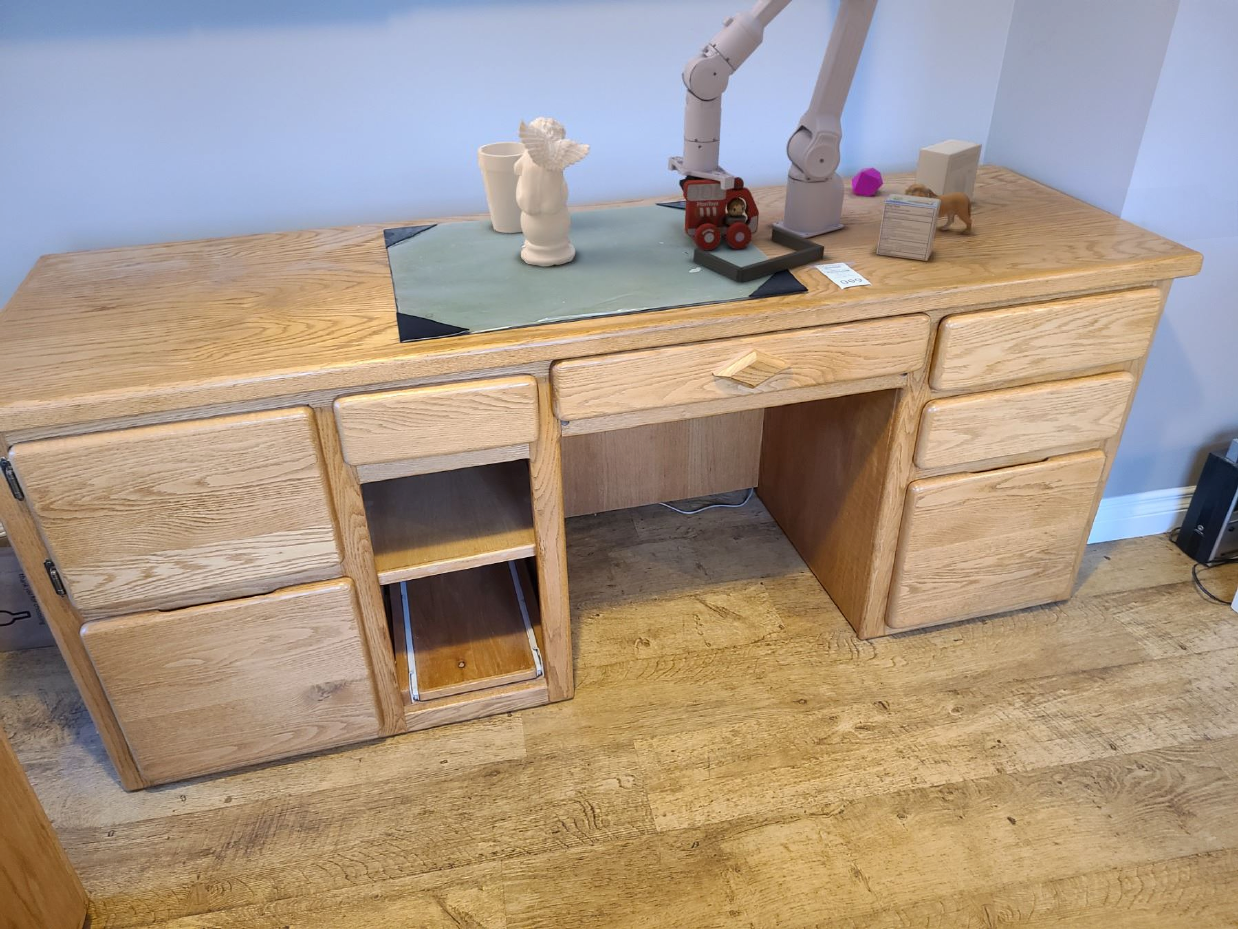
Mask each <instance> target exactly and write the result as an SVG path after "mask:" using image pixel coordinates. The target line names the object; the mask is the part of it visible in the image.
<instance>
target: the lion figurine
mask: <svg viewBox="0 0 1238 929" xmlns="http://www.w3.org/2000/svg"><path fill="white" fill-rule="evenodd" d="M903 195H909V196H918V197H926V198H934V199H940V200H941V203H940V208H939V214H938V219H939V218H942V217H945V216H947V221H946V223H945V224H943V225H940V226H939V227H938V229H939V230H940V231H946V230H948V229H949V228H950V227H951V226H952V225H953V224H954V223H955V216H957V217H958V219H959V220H960V221H962V222H963V223H964V224H965V225H966V228H965V229H963V230H962V234H963V235H970V234H971V232H972V226H973V220H972V218H971V217H972V202H971V203H970V199H969V198H968V196H967V195H965V194H964V193H960V192H953V193H950V194H946V195H941V196H937V195H936V194H934V193H933V192H932V191H931V190H930V189H927V188H926V187H925V185H923V184H915V183H914V184H913V183H912V184H911V185H910V186H909V187H908V188H907V189H905V190H904V194H903Z"/></svg>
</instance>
